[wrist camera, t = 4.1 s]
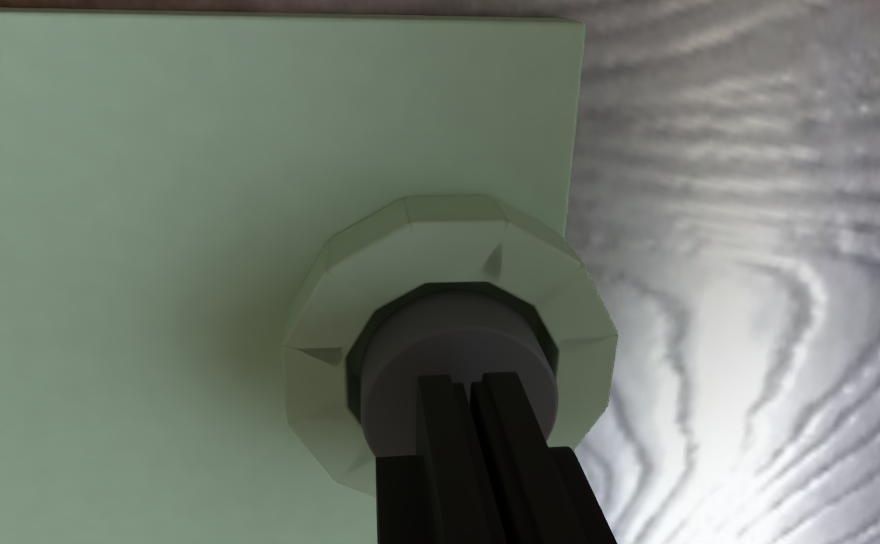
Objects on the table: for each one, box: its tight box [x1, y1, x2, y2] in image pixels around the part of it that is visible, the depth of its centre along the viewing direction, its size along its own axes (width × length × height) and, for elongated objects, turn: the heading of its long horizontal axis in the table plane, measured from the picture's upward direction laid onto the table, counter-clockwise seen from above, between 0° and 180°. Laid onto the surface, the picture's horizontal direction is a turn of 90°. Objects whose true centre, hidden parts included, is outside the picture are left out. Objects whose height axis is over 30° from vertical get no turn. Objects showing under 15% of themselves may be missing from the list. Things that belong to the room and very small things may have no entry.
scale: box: [0, 7, 618, 544], centre depth 14 cm, size 17×13×3 cm
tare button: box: [360, 290, 559, 457], centre depth 13 cm, size 4×4×2 cm
